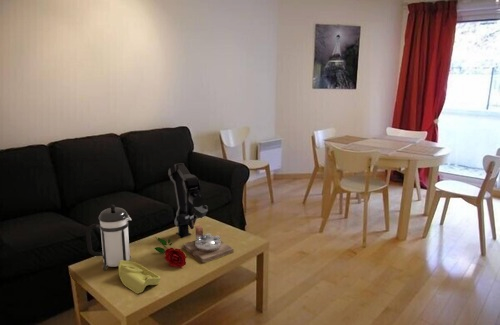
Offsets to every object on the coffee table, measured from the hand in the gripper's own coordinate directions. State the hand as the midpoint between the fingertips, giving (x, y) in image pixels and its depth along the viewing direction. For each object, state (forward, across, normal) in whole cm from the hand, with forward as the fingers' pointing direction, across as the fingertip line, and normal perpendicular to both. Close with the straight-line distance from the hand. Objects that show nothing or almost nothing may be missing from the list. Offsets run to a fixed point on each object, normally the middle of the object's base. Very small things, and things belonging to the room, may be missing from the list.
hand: (191, 228), depth 197 cm
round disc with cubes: (+7, +1, -8) cm, 11 cm away
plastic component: (+10, -39, 0) cm, 40 cm away
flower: (+10, -16, +3) cm, 19 cm away
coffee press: (+10, -34, +20) cm, 41 cm away
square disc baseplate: (+10, 0, -10) cm, 14 cm away
